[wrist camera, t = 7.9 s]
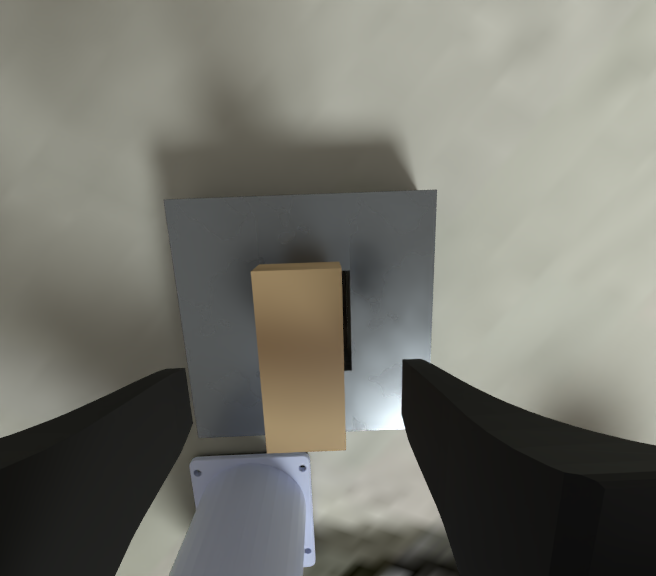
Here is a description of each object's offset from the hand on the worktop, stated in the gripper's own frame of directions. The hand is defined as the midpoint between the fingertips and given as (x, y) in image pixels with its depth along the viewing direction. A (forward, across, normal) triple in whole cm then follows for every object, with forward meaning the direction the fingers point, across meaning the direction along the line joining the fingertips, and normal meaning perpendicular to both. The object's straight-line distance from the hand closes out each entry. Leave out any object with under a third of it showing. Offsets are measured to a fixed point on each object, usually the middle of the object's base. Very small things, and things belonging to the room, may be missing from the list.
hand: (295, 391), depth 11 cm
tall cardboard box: (+9, 0, 0) cm, 9 cm away
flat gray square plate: (+9, 0, 0) cm, 9 cm away
